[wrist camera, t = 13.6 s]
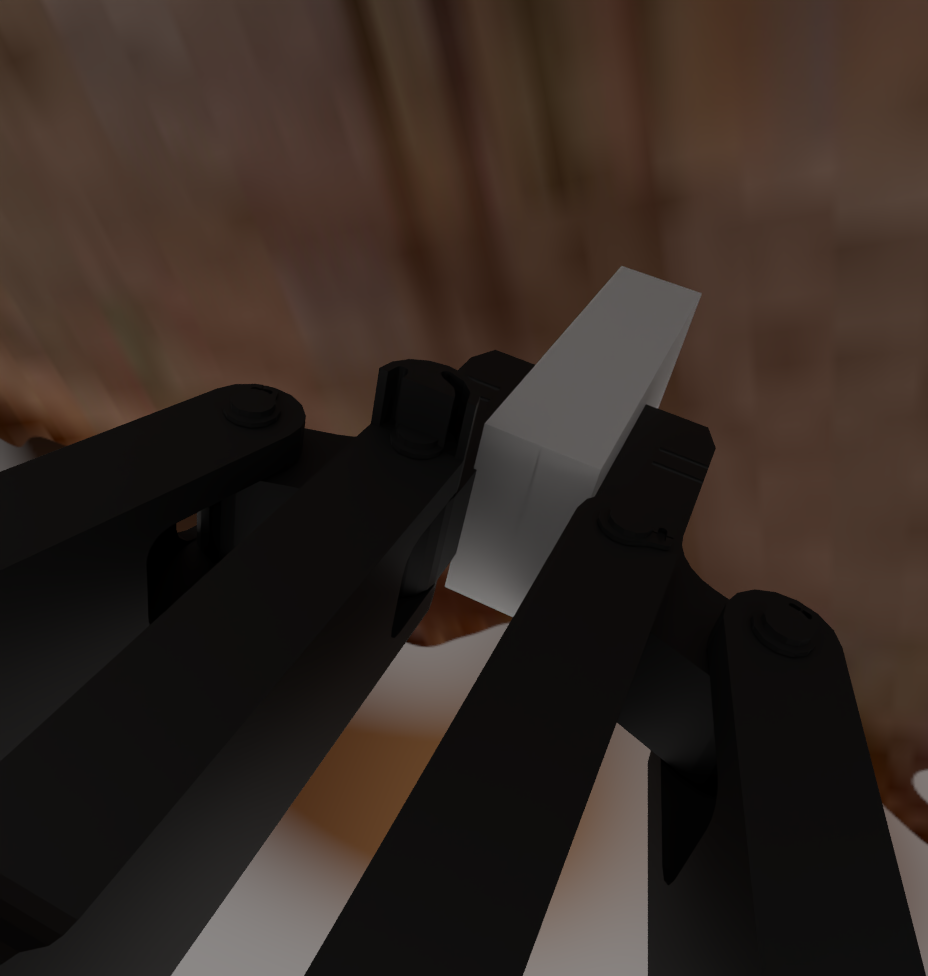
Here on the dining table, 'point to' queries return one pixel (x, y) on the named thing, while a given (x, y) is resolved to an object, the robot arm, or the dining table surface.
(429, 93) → the dining table surface
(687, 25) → the dining table surface
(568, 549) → the robot arm
